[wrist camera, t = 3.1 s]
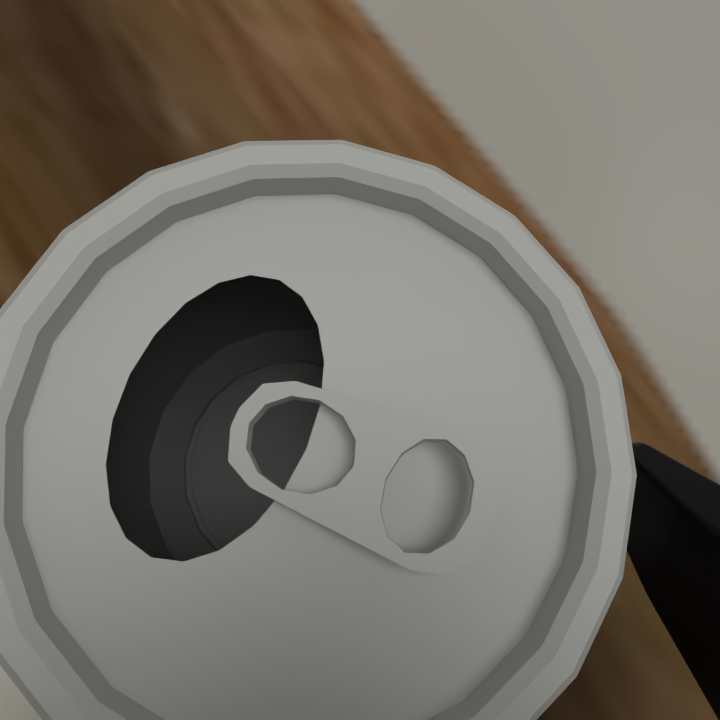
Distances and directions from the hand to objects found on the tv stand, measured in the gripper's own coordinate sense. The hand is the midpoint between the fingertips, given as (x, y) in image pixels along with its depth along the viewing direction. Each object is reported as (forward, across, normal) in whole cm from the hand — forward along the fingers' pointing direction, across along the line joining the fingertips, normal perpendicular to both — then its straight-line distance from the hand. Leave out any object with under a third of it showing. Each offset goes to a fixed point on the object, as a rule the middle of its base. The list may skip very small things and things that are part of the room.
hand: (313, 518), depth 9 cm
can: (+7, 0, +6) cm, 9 cm away
